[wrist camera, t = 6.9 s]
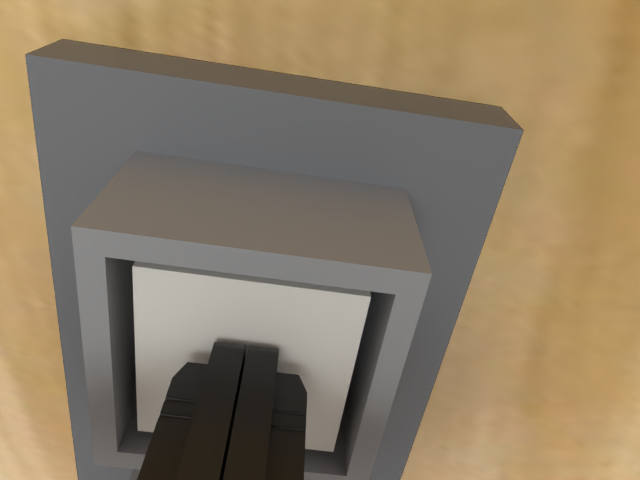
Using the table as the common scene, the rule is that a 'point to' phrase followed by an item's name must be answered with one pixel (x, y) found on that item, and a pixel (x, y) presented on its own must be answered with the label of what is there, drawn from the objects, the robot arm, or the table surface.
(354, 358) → the white key
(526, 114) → the table surface
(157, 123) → the key panel
